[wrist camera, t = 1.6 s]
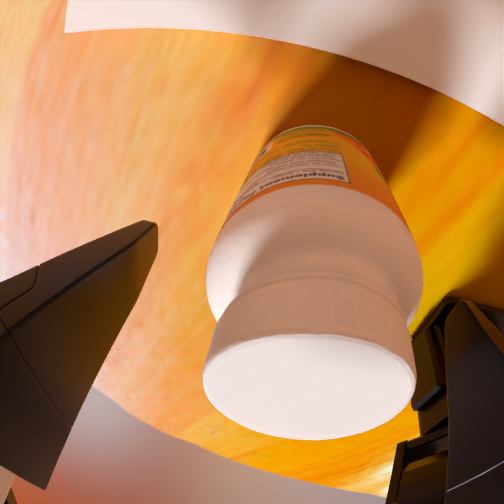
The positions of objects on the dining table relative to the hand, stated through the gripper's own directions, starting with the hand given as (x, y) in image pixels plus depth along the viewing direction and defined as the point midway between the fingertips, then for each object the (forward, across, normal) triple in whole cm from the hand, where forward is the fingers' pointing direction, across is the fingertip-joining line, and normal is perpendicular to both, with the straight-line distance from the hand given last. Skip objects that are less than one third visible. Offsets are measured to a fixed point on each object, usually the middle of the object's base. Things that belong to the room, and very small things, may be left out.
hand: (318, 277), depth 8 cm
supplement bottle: (+6, 0, 0) cm, 6 cm away
